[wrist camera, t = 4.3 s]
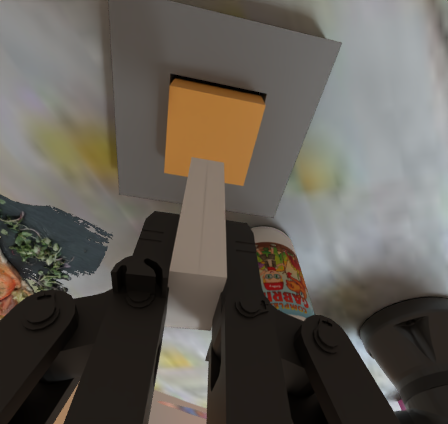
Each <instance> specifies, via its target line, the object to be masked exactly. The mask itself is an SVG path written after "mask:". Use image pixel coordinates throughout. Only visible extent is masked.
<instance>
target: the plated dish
mask: <svg viewBox="0 0 448 424" xmlns="http://www.w3.org/2000/svg"><path fill="white" fill-rule="evenodd" d="M49 206H50V205H49ZM49 206H47V205H46V206H37V205H36V206H32V205H27V204H22V203H19V202H14V201H12V200H10V199H8V198H6V197H4V196H2V195H0V236H1V238H0V320H1V319H2V318H3V317H4V316H5V315H6V314H7V313H8V312H9V311H10V310H11V309H12V308H13V307H14V306H15V305H17V304H18V303H19V302H21V301H22V300H23V299H25V298H26V297H28V296H30V295H33V294H35V293H34V290H33V288H32V287H31V286H30V285H29V283H28V282H26V281H27V280H25V279H26V278H27V279H29V278H30V280H31V279H32V280H34V281H35V282H37V283H35V284H33V286H37V287H38V289H37V290H41V291H46V290H52V289H53V290H60V291H64V292H67V291H68V288H65V287H63V286H62V285H61V284H62V283H60V282H58V281H56V280H57V279H65V280H68V281H69V280H71V277H69V275H67V274H68V273H72V274H74V275H76V276H77V274H79V273H76V272H75V273H76V274H75V273H74V271H77V270H78V271H77V272H79V271H80V273H83V274H84V273H85V272H84V271H87V272H89V275H91V274H90V273H92V274H93V273H94V271H96V270H97V268H98V267H99V266H100V263H101V261H102V260H103V258H104V256H105V251H107V248H108V247H105V246H103V244H102V242H103V241H104V242H106V243H109V242H107V241H108V238H106V239H105V238H103V237H101V236H100V235H97V234H96V232H95V233H93V232H91V231H90V232H89V230H87V229H86V228H85V226H86V227H87V228H90V227H89V226H88V225H90V226H93V227H94V228H95V227H96V226H97V225H96V226H94V225H92V224H90V223H89V222H87V221H85V220H83V219H80V218H79V217H77V216H76V217H72V215H71V214H70V213H68V214H67V213H66V212H65V211H62V210H60V209H58V208H56V207H53V209H55V210H58V211H55V210H52V208H51V207H49ZM58 212H59V213H58ZM61 213H62V214H61ZM78 220H83V222H82V223H79V222H80V221H78ZM74 221H75V222H74ZM76 222H77V223H78V224H77V223H76ZM84 223H87V225H86V224H85V225H84ZM79 224H80V225H79ZM98 229H99V230H100V231H99V230H98ZM95 230H96V231H97V232H98V233H100V234H101V235H105V236H104V237H106V236H107V237H109V238H111V237H110V236H112V237H113V235H112V234H107V232H106V231H105V232H103V231H104V230H102V229H101V228H98V227H96V228H95ZM109 235H110V236H109ZM99 237H100V238H99ZM88 239H89V240H88ZM111 239H112V238H111ZM106 240H107V241H106ZM112 240H113V239H112ZM96 241H97V242H99V243H96ZM104 242H103V243H104ZM100 243H101V244H100ZM43 260H44V261H46V262H44V261H43ZM46 264H47V265H46ZM25 268H27V269H28V270H27V269H25ZM23 269H24V270H23ZM30 270H31V271H30ZM63 270H65V271H67V272H68V273H67V274H65V273H62V272H61V271H63ZM32 271H33V272H32ZM92 271H93V272H92ZM23 272H26V273H23ZM28 273H30V274H28ZM33 273H34V274H36V276H37V277H36V276H34V275H33ZM72 274H71V275H72ZM85 274H86V273H85ZM31 275H32V276H34V277H32V276H31ZM87 275H88V273H87ZM78 276H79V275H78ZM78 276H77V277H78ZM35 277H36V278H37V279H39V281H38V280H37V279H35ZM24 278H25V279H24ZM53 278H54V279H55V280H54V279H53ZM60 285H61V286H62V287H63V288H60Z"/></svg>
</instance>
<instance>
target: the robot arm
mask: <svg viewBox="0 0 448 424" xmlns="http://www.w3.org/2000/svg"><path fill="white" fill-rule="evenodd" d="M111 278H112V287H113V289H111V290H109V291H107V292H105V293H101V294H98V295H93V296H87V297H82V298H76V299H73V298H72V296H71V295H69V294H68V293H66V292H64V291H60V290H53V289H52V290H46V291H40V292H37V293H35V294H33V295H30V296H28V297H26V298H25V299H23V300H22V301H21V302H19V303H18V304H17V305H15V306H14V307H13V308H12V309H11V310H10V311H9V312H8V313H7V314H6V315H5V316H4V317H3V318H2V319H1V320H0V424H53V423H54V422H55V420H56V418H57V417H58V415H59V413H60V412H61V410H62V408H63V407H64V405H65V403H66V402H67V400H68V399H69V397H70V396H71V394H72V392H73V391H74V389H75V387H76V386H77V384H78V383H79V384H78V387H77V390H76V392H75V395H74V397H73V400H72V403H71V405H70V408H69V411H68V414H67V416H66V419H65V421H64V424H148V421H149V415H150V409H151V404H152V398H153V392H154V386H155V381H156V375H157V369H158V363H159V357H160V352H161V346H162V337H163V331H164V327H175V328H187V329H198V330H211V327H212V340H211V343H210V346H209V349H208V352H207V356H206V360H205V361H209V368H208V396H207V424H448V299H446V298H437V297H429V298H418V299H412V300H408V301H404V302H400V303H397V304H394V305H392V306H389V307H387V308H385V309H383V310H381V311H379V312H377V313H376V314H374V315H373V316H371V317H370V318H369V319H368V320H367V321H366V322H365V323H364V324H363V325H362V327H361V329H360V338H361V340H362V342H363V345H364V347H365V349H366V351H367V352H368V354H369V355H370V356H371V357H372V358H373V359H375V360H376V362H377V363H378V364H379V366H380V367H381V369H382V370H383V371H384V373H385V374H386V375H387V377H388V378H389V379H390V381H391V382H392V383H393V384H394V386H395V387H396V389H397V391H398V393H399V395H400V397H401V399H402V401H403V403H404V405H405V407H406V410H402V411H396V412H394V411H393V410H392V408H391V406H390V405H389V403H388V401H387V400H386V398H385V397H384V395H383V393H382V392H381V390H380V388H379V387H378V385H377V383H376V382H375V380H374V378H373V377H372V375H371V373H370V372H369V370H368V369H367V367H366V365H365V364H364V362H363V360H362V359H361V357H360V355H359V354H358V352H357V350H356V349H355V347H354V346H353V344H352V342H351V341H350V339H349V337H348V336H347V334H346V333H345V332H344V330H343V329H342V328H341V327H340V326H339V325H338V324H337V323H335V322H334V321H333V320H331V319H329V318H327V317H324V316H322V315H312V316H310V317H307V318H306V319H305V320H304V321H302V320H300V319H298V318H295V317H293V316H290V315H288V314H286V313H283V312H282V311H280V310H278V309H277V308H275V307H274V306H273V305H272V304H271V303H270V301H269V299H268V298H267V297H266V296H265V295H264V293H263V290H262V285H261V278H260V272H259V265H258V259H257V254H256V246H255V239H254V233H253V231H252V230H251V229H250V227H249V226H248V224H247V223H241V222H234V221H227V220H226V219H225V182H224V163H223V162H217V161H211V160H206V159H200V158H194V157H192V158H191V163H190V168H189V173H188V178H187V184H186V189H185V194H184V199H183V204H182V209H181V214H180V215H179V214H172V213H165V212H158V211H154V212H153V213H152V214H151V215H150V216H149V217H148V218H146V220H145V223H144V225H143V228H142V231H141V234H140V237H139V240H138V242H137V245H136V248H135V250H134V253H133V256H129V257H126V258H124V259H123V260H121V261H120V262H118V263H117V264H116V265H115V267H114V268H113V269H112V271H111ZM79 381H80V382H79Z"/></svg>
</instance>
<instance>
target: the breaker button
mask: <svg viewBox="0 0 448 424" xmlns="http://www.w3.org/2000/svg"><path fill="white" fill-rule="evenodd" d="M265 106H266V105H265V103H264V101H263V99H262V97H261V96H260V95H255V94H250V93H246V92H241V91H236V90H231V89H226V88H222V87H217V86H212V85H207V84H203V83H198V82H193V81H188V80H184V79H179V78H175V79H174V80H173V82H172V83H171V84H170V86H169V102H168V118H167V134H166V150H165V167H164V173H167V174H173V175H179V176H186V177H188V173H189V168H190V163H191V158H192V157H194V158H200V159H206V160H211V161H217V162H223V163H224V182H225V183H228V184H234V185H240V186H243V185H244V182H245V178H246V175H247V171H248V167H249V164H250V160H251V157H252V153H253V149H254V146H255V142H256V139H257V135H258V131H259V128H260V124H261V121H262V117H263V113H264V110H265Z"/></svg>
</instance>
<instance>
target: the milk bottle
mask: <svg viewBox="0 0 448 424" xmlns="http://www.w3.org/2000/svg"><path fill="white" fill-rule="evenodd" d="M250 229H251V230H252V231H253V233H254V239H255V246H256V254H257V259H258V265H259V272H260V278H261V285H262V290H263V293H264V295H265V296H266V297H267V298H268V299H269V301H270V303H271V304H272V305H273V306H274V307H275V308H277V309H278V310H280V311H282V312H283V313H286V314H288V315H290V316H293V317H295V318H298V319H300V320H302V321H304V320H305V319H306V318H307V317H310V316H312V315H315V314H314V311H313V307H312V304H311V301H310V298H309V294H308V291H307V288H306V284H305V281H304V278H303V275H302V272H301V268H300V265H299V262H298V259H297V256H296V253H295V250H294V247H293V244H292V242H291V240H290V238H289V237H288V236H287V235H286V234H285V233H283V232H282V231H280V230H278V229H275V228H273V227H267V226H259V227H253V228H250Z"/></svg>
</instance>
